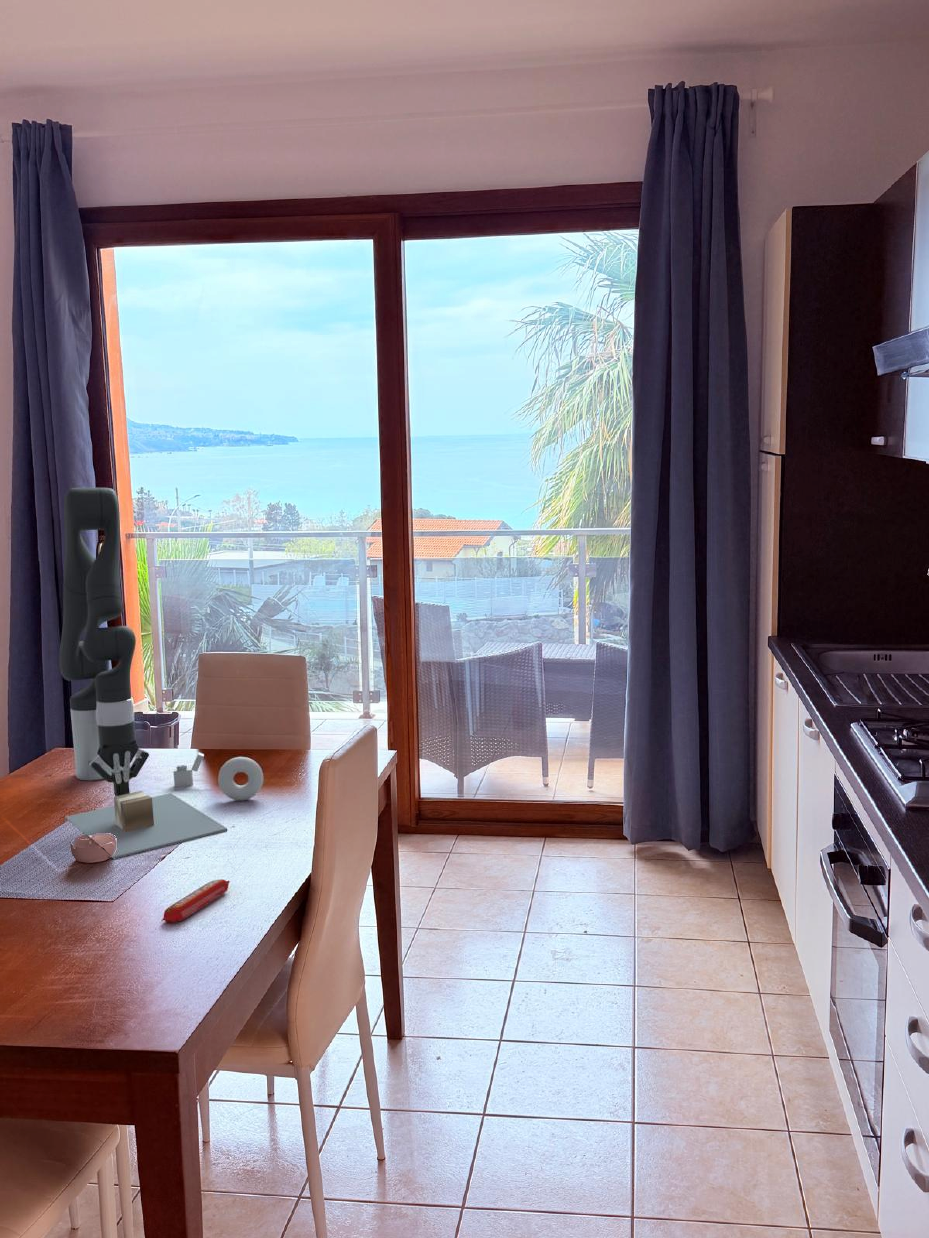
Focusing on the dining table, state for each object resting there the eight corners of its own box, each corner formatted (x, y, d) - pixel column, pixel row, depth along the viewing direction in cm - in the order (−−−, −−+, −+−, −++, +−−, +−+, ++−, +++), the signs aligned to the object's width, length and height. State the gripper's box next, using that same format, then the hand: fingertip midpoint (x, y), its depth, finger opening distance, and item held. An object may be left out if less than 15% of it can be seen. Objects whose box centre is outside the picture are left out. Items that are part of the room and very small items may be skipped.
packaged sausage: (216, 889, 200) (215, 873, 199) (233, 891, 198) (232, 876, 198) (158, 925, 185) (157, 908, 185) (176, 929, 184) (175, 912, 183)
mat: (64, 818, 238) (64, 816, 238) (170, 795, 252) (170, 793, 252) (113, 859, 214) (112, 856, 214) (227, 830, 229) (227, 828, 228)
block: (113, 796, 232) (123, 803, 227) (141, 790, 235) (152, 797, 230) (115, 824, 233) (126, 831, 228) (143, 817, 236) (154, 825, 231)
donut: (265, 796, 250) (262, 753, 248) (264, 801, 247) (261, 757, 245) (220, 799, 249) (217, 756, 247) (218, 804, 245) (215, 760, 244)
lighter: (174, 789, 257) (172, 755, 255) (175, 786, 258) (172, 753, 257) (205, 786, 258) (203, 753, 257) (206, 784, 260) (204, 751, 258)
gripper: (139, 711, 241) (145, 788, 244) (78, 722, 233) (85, 801, 236) (152, 717, 235) (158, 796, 238) (90, 728, 227) (97, 809, 230)
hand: (122, 798), depth 237 cm, fingers closed
